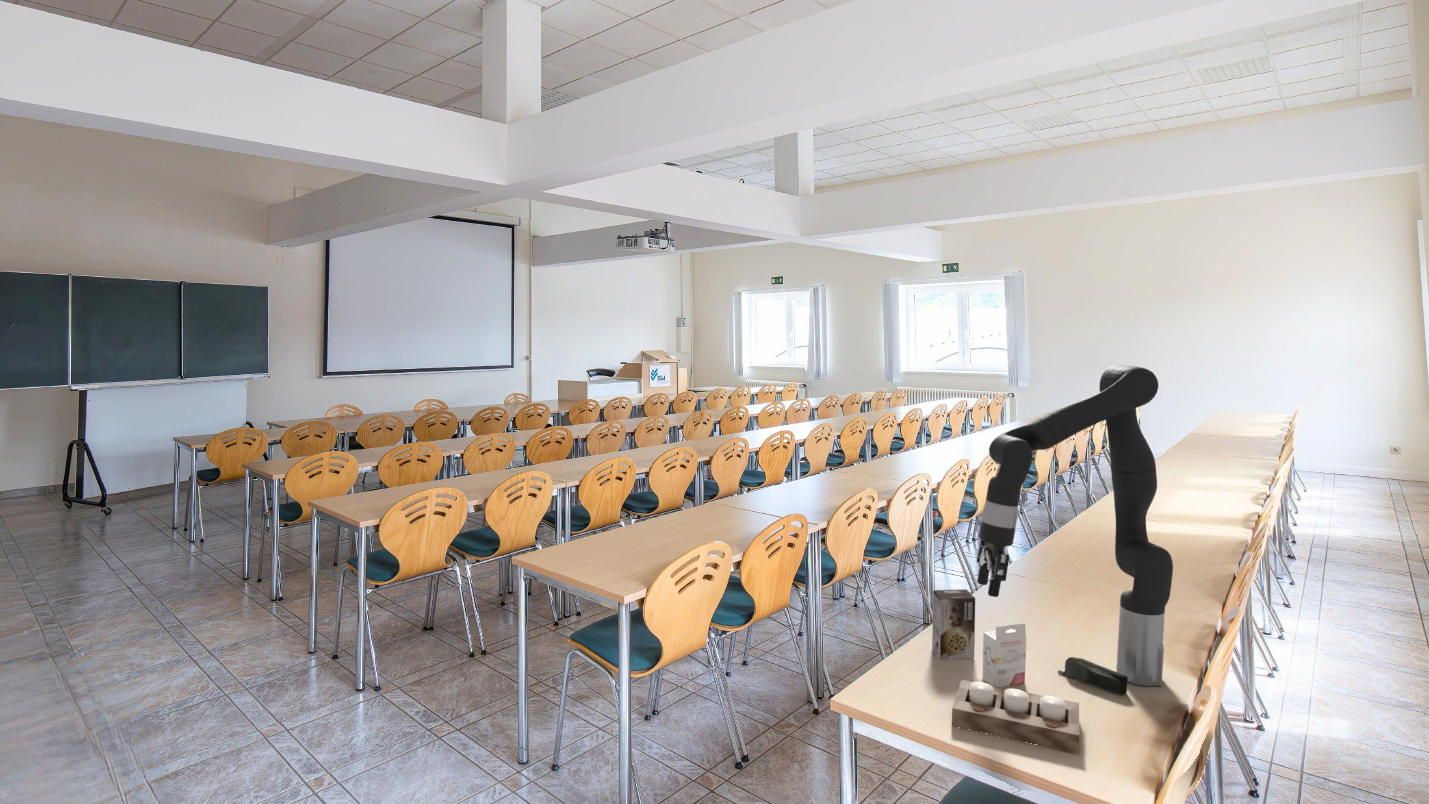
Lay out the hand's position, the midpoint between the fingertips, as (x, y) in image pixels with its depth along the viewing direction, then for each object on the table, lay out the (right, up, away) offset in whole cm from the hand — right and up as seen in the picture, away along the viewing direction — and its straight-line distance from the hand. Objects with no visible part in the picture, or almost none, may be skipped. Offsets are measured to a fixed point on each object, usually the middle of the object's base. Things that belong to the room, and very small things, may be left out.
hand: (987, 590), depth 171 cm
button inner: (+7, -22, -18) cm, 30 cm away
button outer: (-6, -22, -12) cm, 26 cm away
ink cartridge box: (+5, -23, +4) cm, 24 cm away
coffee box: (-2, -22, +19) cm, 29 cm away
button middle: (+1, -22, -15) cm, 27 cm away
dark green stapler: (+26, -23, +3) cm, 35 cm away
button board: (+1, -25, -15) cm, 29 cm away
